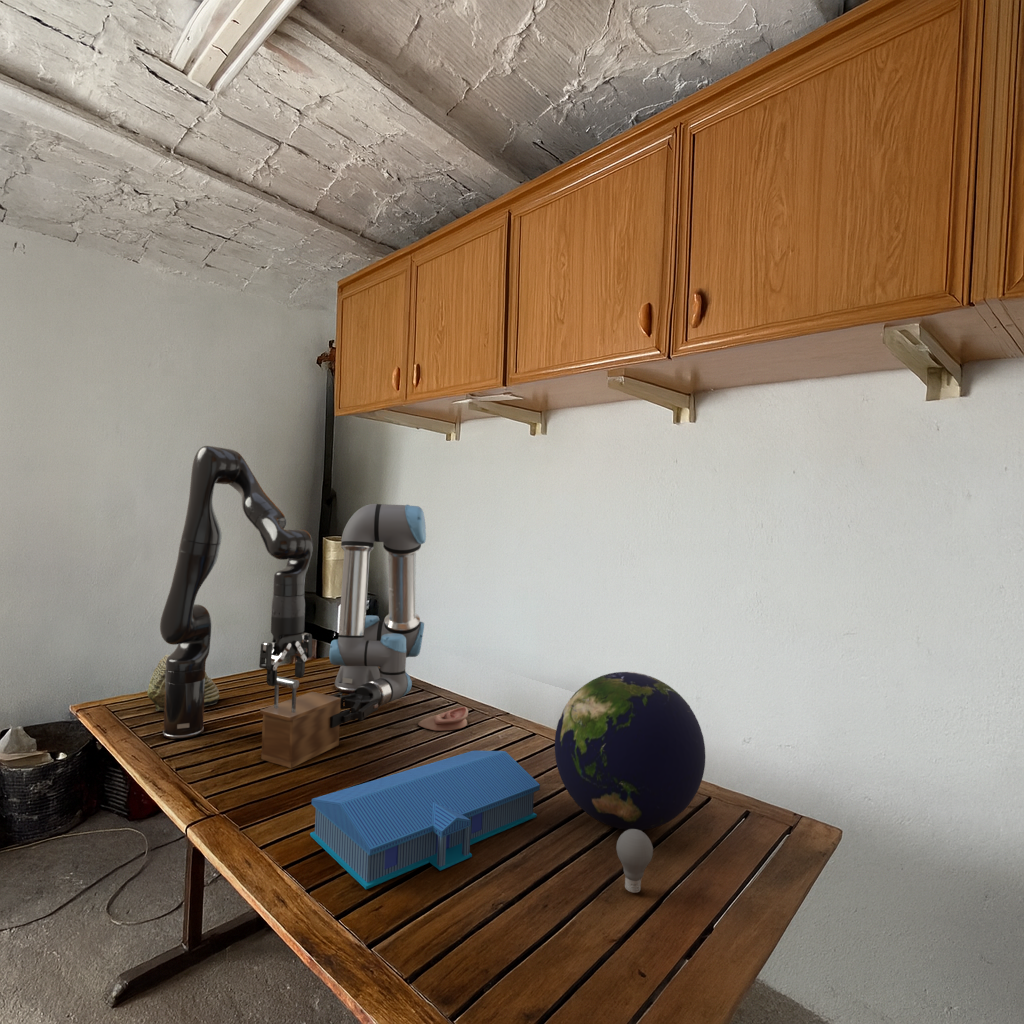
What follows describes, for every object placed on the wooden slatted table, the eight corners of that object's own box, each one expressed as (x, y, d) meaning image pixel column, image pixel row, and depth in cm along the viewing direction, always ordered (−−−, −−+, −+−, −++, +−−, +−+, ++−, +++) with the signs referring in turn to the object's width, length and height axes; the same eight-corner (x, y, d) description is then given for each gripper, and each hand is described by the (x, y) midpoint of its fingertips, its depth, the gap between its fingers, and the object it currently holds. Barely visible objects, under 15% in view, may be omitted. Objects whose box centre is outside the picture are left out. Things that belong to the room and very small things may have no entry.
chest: (291, 768, 147) (292, 720, 147) (261, 759, 151) (262, 712, 151) (339, 745, 162) (340, 701, 161) (310, 737, 166) (312, 694, 166)
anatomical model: (414, 713, 175) (428, 701, 186) (414, 728, 175) (427, 714, 186) (460, 719, 172) (471, 706, 184) (460, 733, 172) (471, 719, 184)
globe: (530, 838, 120) (537, 682, 120) (575, 777, 148) (580, 650, 148) (692, 880, 109) (701, 707, 109) (708, 805, 137) (715, 668, 136)
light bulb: (610, 879, 108) (613, 822, 108) (644, 879, 109) (647, 822, 109) (619, 902, 102) (622, 840, 102) (655, 901, 103) (658, 840, 103)
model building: (376, 899, 100) (378, 836, 100) (308, 834, 119) (310, 781, 118) (548, 822, 127) (550, 773, 127) (472, 779, 145) (474, 735, 145)
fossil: (144, 707, 182) (145, 655, 182) (212, 696, 194) (213, 647, 194) (151, 716, 175) (153, 662, 175) (221, 703, 188) (223, 653, 188)
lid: (290, 721, 146) (291, 684, 146) (259, 713, 150) (261, 677, 150) (340, 701, 161) (341, 668, 161) (312, 694, 166) (313, 662, 165)
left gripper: (276, 619, 142) (274, 691, 143) (321, 610, 155) (319, 676, 155) (252, 616, 146) (250, 686, 146) (298, 607, 158) (296, 672, 159)
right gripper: (403, 715, 176) (349, 742, 156) (340, 701, 185) (282, 724, 165) (404, 689, 176) (350, 711, 155) (341, 676, 185) (283, 696, 165)
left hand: (286, 681), depth 151 cm, fingers open, 8 cm apart
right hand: (315, 718), depth 160 cm, fingers closed on chest, 10 cm apart
